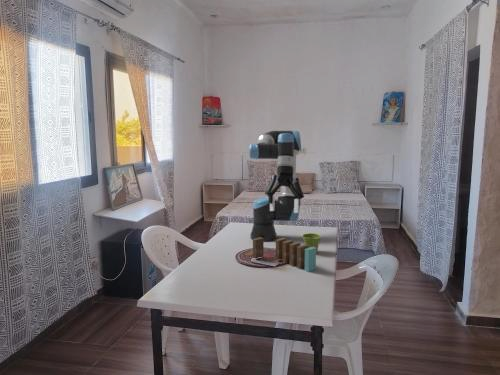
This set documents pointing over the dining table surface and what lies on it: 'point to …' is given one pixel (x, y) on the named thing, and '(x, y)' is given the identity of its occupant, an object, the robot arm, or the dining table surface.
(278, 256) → the domino
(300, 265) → the domino
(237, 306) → the dining table surface
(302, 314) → the dining table surface
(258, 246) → the domino
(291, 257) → the domino
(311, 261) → the domino
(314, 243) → the plant pot
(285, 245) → the domino
